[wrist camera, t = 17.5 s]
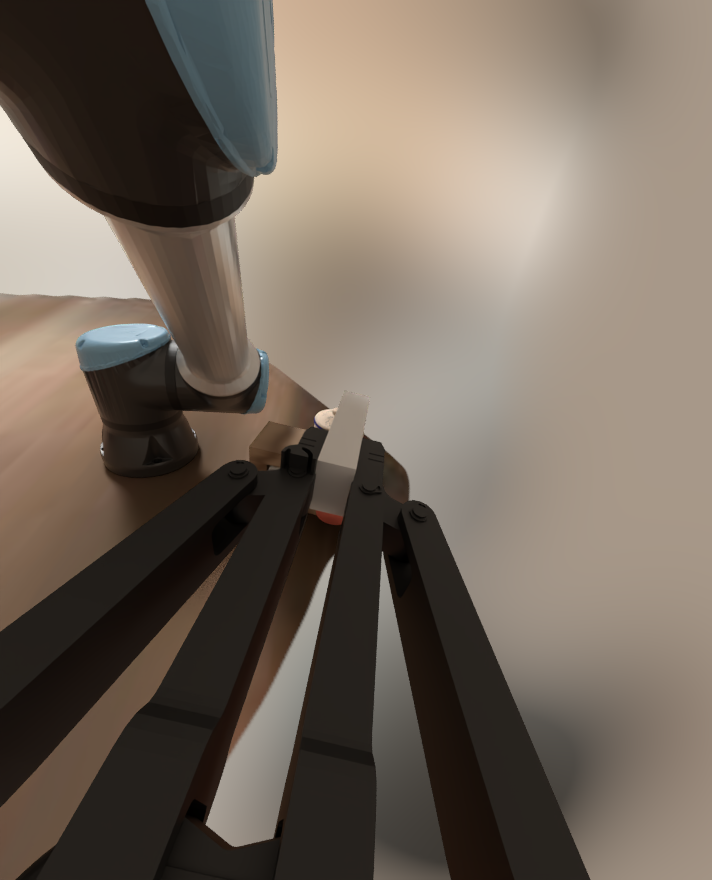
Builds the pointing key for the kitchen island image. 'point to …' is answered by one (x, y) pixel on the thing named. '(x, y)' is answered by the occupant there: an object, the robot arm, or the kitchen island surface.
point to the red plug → (329, 518)
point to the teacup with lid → (325, 419)
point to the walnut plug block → (273, 446)
